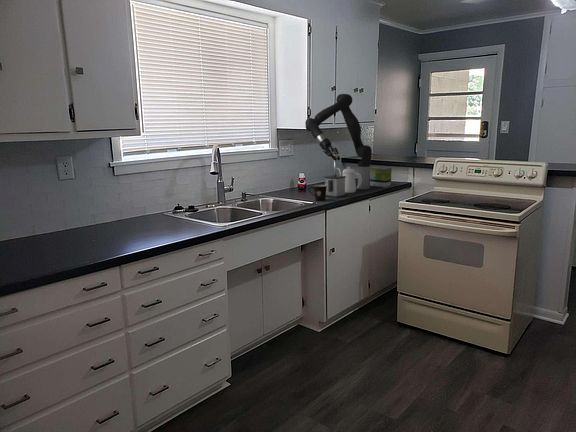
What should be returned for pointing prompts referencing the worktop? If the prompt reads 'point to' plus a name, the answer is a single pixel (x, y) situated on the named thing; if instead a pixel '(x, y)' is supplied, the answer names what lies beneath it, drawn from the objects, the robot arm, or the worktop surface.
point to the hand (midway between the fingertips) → (337, 159)
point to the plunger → (335, 165)
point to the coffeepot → (350, 180)
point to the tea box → (380, 176)
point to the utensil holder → (335, 186)
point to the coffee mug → (319, 192)
